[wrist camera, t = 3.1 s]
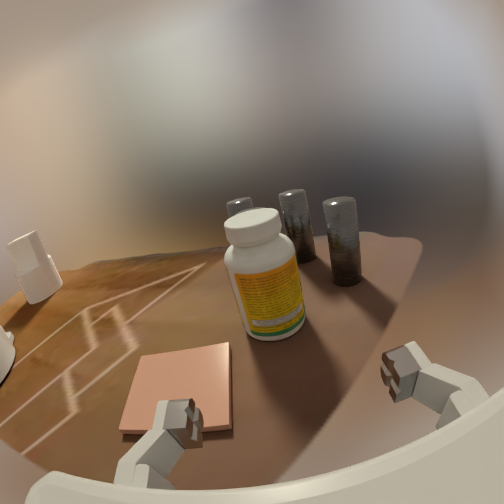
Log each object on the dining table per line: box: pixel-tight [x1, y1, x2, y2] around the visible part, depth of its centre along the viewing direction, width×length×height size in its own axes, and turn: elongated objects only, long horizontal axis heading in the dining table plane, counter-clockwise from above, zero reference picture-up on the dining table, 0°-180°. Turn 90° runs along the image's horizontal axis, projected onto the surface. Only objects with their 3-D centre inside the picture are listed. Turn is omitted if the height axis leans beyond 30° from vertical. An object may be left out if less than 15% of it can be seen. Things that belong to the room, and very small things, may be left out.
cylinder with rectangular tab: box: [7, 230, 63, 304], centre depth 42 cm, size 9×9×12 cm
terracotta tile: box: [119, 342, 232, 434], centre depth 19 cm, size 8×8×1 cm
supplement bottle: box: [224, 208, 305, 341], centre depth 22 cm, size 5×5×10 cm
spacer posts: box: [226, 189, 362, 287], centre depth 30 cm, size 12×12×8 cm
